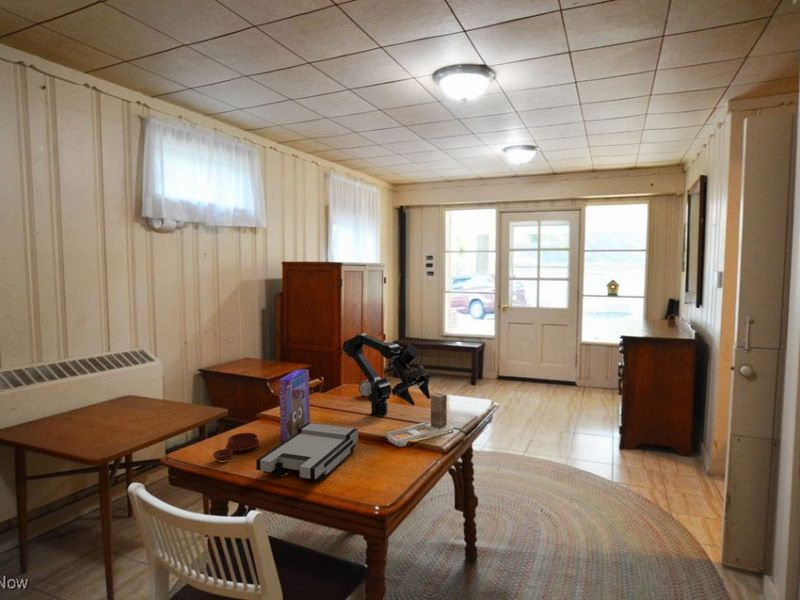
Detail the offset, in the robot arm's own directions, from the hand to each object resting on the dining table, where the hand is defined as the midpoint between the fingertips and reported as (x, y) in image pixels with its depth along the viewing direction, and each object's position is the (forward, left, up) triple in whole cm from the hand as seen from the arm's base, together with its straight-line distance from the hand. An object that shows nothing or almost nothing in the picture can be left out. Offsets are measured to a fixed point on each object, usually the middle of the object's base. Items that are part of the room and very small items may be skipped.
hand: (421, 401), depth 199 cm
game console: (-30, -44, -11) cm, 54 cm away
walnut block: (+8, -4, -8) cm, 12 cm away
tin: (-32, +36, -10) cm, 49 cm away
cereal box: (-48, -19, -10) cm, 52 cm away
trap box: (+2, -11, -10) cm, 15 cm away
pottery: (-60, -42, -11) cm, 74 cm away
